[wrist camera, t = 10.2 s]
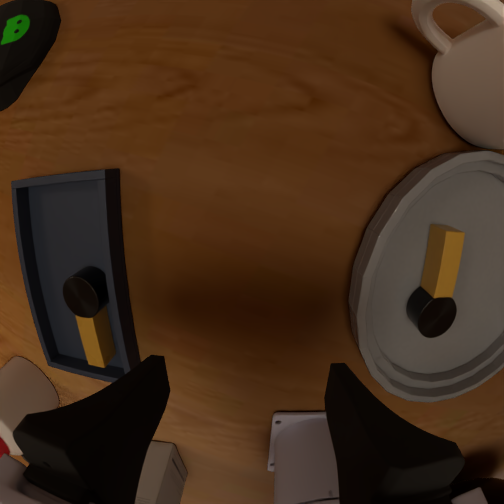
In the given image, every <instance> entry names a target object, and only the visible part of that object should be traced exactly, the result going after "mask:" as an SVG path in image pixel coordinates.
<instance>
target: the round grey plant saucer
mask: <svg viewBox="0 0 504 504" xmlns="http://www.w3.org/2000/svg"><path fill="white" fill-rule="evenodd" d="M431 224H438V225H448V226H451V227H453V228H455V229H458V230H460V231H462V232H464V233H465V236H464V243H463V249H462V254H461V260H460V265H459V270H458V275H457V279H456V284H455V288H454V292H453V296H452V299H453V300H454V301H455V303H456V307H457V313H456V317H455V320H454V322H453V324H452V325H451V327H450V328H449V329H448V330H447V331H446V332H445V333H443V334H442V335H440V336H438V337H435V338H427V337H424V336H423V335H421V333H420V332H419V331H418V330H417V328H416V327H415V326H414V324H413V323H412V322H411V321H410V319H409V318H408V316H407V313H406V306H407V302H408V299H409V297H410V296H411V294H412V293H413V292H414V291H415V290H416V289H417V288H418V287H420V286H421V280H422V275H423V270H424V264H425V259H426V253H427V246H428V240H429V232H430V225H431ZM349 310H350V318H351V327H352V333H353V336H354V338H355V340H356V343H357V345H358V347H359V350H360V352H361V354H362V356H363V359H364V361H365V363H366V366H367V368H368V370H369V373H370V374H371V376H372V377H373V378H374V379H375V380H376V381H377V382H378V383H379V384H380V385H381V386H382V387H383V388H384V389H385V390H386V391H388V392H389V393H391V394H394V395H396V396H398V397H401V398H403V399H405V400H408V401H418V402H436V401H441V400H446V399H451V398H455V397H457V396H459V395H462V394H464V393H466V392H468V391H470V390H473V389H475V388H477V387H478V386H480V385H481V384H483V383H484V382H485V381H487V380H488V379H490V378H491V377H492V376H494V375H495V374H496V373H498V372H499V371H500V370H501V369H502V368H503V367H504V155H501V154H498V153H495V152H492V151H481V150H479V151H478V150H469V151H460V152H452V153H445V154H442V155H440V156H438V157H436V158H434V159H432V160H430V161H428V162H426V163H424V164H422V165H420V166H418V167H416V168H415V169H414V170H413V171H412V172H411V173H410V174H409V175H408V176H407V177H406V178H404V179H403V180H402V181H401V182H400V183H399V184H398V185H397V186H396V187H395V188H394V189H393V190H392V191H391V192H390V193H389V194H388V195H387V197H386V198H385V200H384V202H383V203H382V205H381V206H380V208H379V209H378V211H377V213H376V214H375V216H374V217H373V219H372V220H371V222H370V223H369V225H368V227H367V229H366V232H365V235H364V237H363V240H362V243H361V246H360V248H359V251H358V254H357V256H356V259H355V261H354V265H353V272H352V279H351V287H350V294H349Z"/></svg>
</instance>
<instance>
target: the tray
mask: <svg viewBox="0 0 504 504" xmlns="http://www.w3.org/2000/svg"><path fill="white" fill-rule="evenodd" d="M11 185H12V202H13V214H14V223H15V232H16V239H17V246H18V252H19V258H20V264H21V269H22V274H23V279H24V284H25V288H26V293H27V297H28V301H29V305H30V309H31V313H32V316H33V320H34V323H35V327H36V330H37V334H38V337H39V340H40V343H41V346H42V349H43V352H44V355H45V358H46V360H47V363H48V366H51V367H54V368H58V369H61V370H64V371H68V372H72V373H75V374H79V375H83V376H87V377H91V378H95V379H99V380H103V381H107V382H112V383H113V382H115V381H116V380H118V379H119V378H121V377H122V376H124V375H125V374H126V373H128V372H129V371H130V370H132V369H133V368H134V367H136V366H137V365H138V364H140V363H141V362H140V358H139V353H138V347H137V342H136V337H135V331H134V325H133V319H132V313H131V307H130V300H129V293H128V285H127V277H126V268H125V259H124V249H123V237H122V224H121V206H120V179H119V168H118V169H105V170H94V171H84V172H75V173H66V174H58V175H50V176H43V177H36V178H29V179H22V180H16V181H12V182H11ZM88 266H93V267H96V268H99V269H100V270H102V271H103V272H104V273H105V275H106V282H107V289H108V295H109V301H110V302H109V303H108V304H107V305H106V307H107V312H108V318H109V323H110V328H111V332H112V337H113V342H114V346H115V350H116V354H115V355H114V357H113V358H112V359H111V361H110V362H109V363H108V365H107V366H106V367H105V368H102V367H98V366H93V365H89V364H88V361H87V357H86V354H85V350H84V347H83V343H82V340H81V336H80V332H79V328H78V324H77V320H76V315H75V314H74V313H73V312H72V311H71V310H70V309H69V308H68V306H67V305H66V303H65V300H64V297H63V285H64V283H65V281H66V279H68V278H69V277H70V276H72V275H74V274H75V273H77V272H78V271H80V270H81V269H83V268H85V267H88Z"/></svg>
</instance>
